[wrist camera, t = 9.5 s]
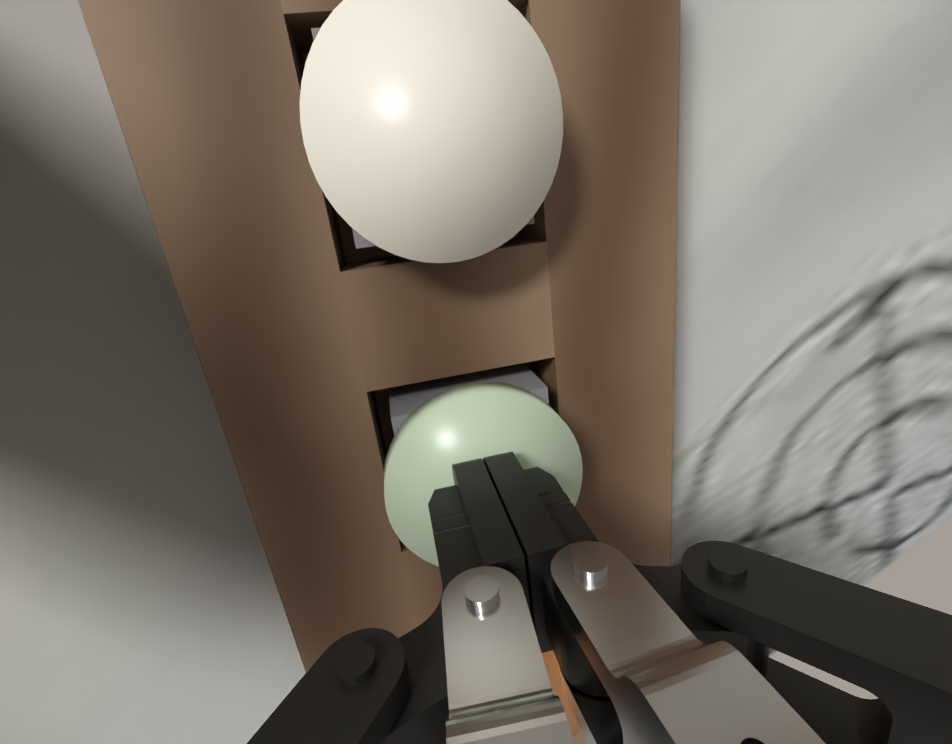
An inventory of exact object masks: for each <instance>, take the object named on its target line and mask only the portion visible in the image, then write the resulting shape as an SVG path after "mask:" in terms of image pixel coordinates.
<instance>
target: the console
mask: <svg viewBox="0 0 952 744" xmlns="http://www.w3.org/2000/svg"><path fill="white" fill-rule="evenodd" d="M342 1H343V0H78V2H79V5H80V8H81V11H82V14H83V17H84V20H85V23H86V26H87V29H88V32H89V35H90V38H91V41H92V44H93V46H94V49H95V52H96V55H97V58H98V61H99V64H100V67H101V70H102V73H103V76H104V79H105V82H106V85H107V88H108V91H109V94H110V97H111V100H112V102H113V105H114V108H115V111H116V114H117V117H118V120H119V123H120V126H121V129H122V132H123V135H124V138H125V141H126V144H127V147H128V150H129V153H130V155H131V158H132V161H133V164H134V167H135V170H136V173H137V176H138V179H139V182H140V185H141V188H142V191H143V194H144V197H145V200H146V203H147V206H148V209H149V211H150V214H151V217H152V220H153V223H154V226H155V229H156V232H157V235H158V238H159V241H160V244H161V247H162V250H163V253H164V256H165V259H166V262H167V265H168V267H169V270H170V273H171V276H172V279H173V282H174V285H175V288H176V291H177V294H178V297H179V300H180V303H181V306H182V309H183V312H184V315H185V318H186V321H187V323H188V326H189V329H190V332H191V335H192V338H193V341H194V344H195V347H196V350H197V353H198V356H199V359H200V362H201V365H202V368H203V371H204V374H205V377H206V379H207V382H208V385H209V388H210V391H211V394H212V397H213V400H214V403H215V406H216V409H217V412H218V415H219V418H220V421H221V424H222V427H223V430H224V432H225V435H226V438H227V441H228V444H229V447H230V450H231V453H232V456H233V459H234V462H235V465H236V468H237V471H238V474H239V477H240V480H241V483H242V486H243V488H244V491H245V494H246V497H247V500H248V503H249V506H250V509H251V512H252V515H253V518H254V521H255V524H256V527H257V530H258V533H259V536H260V539H261V542H262V544H263V547H264V550H265V553H266V556H267V559H268V562H269V565H270V568H271V571H272V574H273V577H274V580H275V583H276V586H277V589H278V592H279V595H280V598H281V600H282V603H283V606H284V609H285V612H286V615H287V618H288V621H289V624H290V627H291V630H292V633H293V636H294V639H295V642H296V645H297V648H298V651H299V654H300V656H301V659H302V662H303V665H304V668H305V671H306V673H307V672H308V670H309V669H310V668H311V667H312V666H313V664H314V663H315V662H316V661H317V660H318V658H319V657H320V656H321V655H322V654H323V653H324V652H325V650H326V649H327V648H328V647H329V646H331V645H332V644H333V643H334V642H335V641H337V640H338V639H340V638H341V637H343V636H345V635H347V634H349V633H351V632H354V631H357V630H360V629H365V628H380V629H384V630H387V631H389V632H391V633H393V634H394V635H395V636H396V637H397V638H399V637H401V636H403V635H404V634H406V633H408V632H410V631H411V630H413V629H415V628H416V627H418V626H419V625H421V624H422V623H423V622H424V621H426V620H427V619H428V618H429V617H430V616H431V615H432V613H433V612H434V611H435V609H436V608H437V606H438V604H439V602H440V599H441V596H442V590H443V588H442V580H441V574H440V569H439V566H436V565H434V564H431V563H429V562H427V561H425V560H423V559H422V558H420V557H418V556H417V555H416V554H414V553H413V552H412V551H410V550H409V549H408V548H407V547H406V546H405V545H404V544H403V543H402V542H401V540H400V539H399V537H398V536H397V535H396V533H395V532H394V530H393V528H392V526H391V524H390V522H389V518H388V515H387V512H386V507H385V500H384V467H385V460H386V456H387V453H388V450H389V446H390V444H391V442H392V440H393V438H394V432H393V427H392V422H391V416H390V400H389V388H391V387H396V386H402V385H407V384H413V383H418V382H423V381H429V380H434V379H440V378H445V377H450V376H456V375H461V374H466V373H472V372H477V371H483V370H488V369H493V368H499V367H504V366H510V365H515V364H520V363H524V364H525V365H526V366H527V367H528V368H529V369H530V370H531V371H532V372H533V373H534V374H535V375H536V376H537V377H538V378H539V379H540V380H541V381H542V382H543V383H544V384H545V385H546V386H547V387H548V399H549V405H550V407H551V408H552V409H553V410H554V411H555V412H556V413H557V414H558V415H559V416H560V418H561V419H562V420H563V421H564V422H565V423H566V424H567V425H568V427H569V428H570V430H571V431H572V433H573V435H574V437H575V439H576V441H577V443H578V446H579V449H580V453H581V458H582V466H583V474H582V484H581V490H580V493H579V496H578V500H577V502H576V505H575V508H576V509H577V510H578V512H579V513H580V515H581V516H582V518H583V519H584V521H585V522H586V524H587V525H588V526H589V528H590V529H591V531H592V532H593V534H594V535H595V537H596V538H597V540H598V541H599V542H601V543H605V544H607V545H610V546H612V547H614V548H616V549H618V550H619V551H620V552H622V553H623V554H624V555H625V556H626V557H627V558H628V559H629V561H630V562H631V563H632V564H637V565H643V566H670V557H671V501H672V445H673V388H674V332H675V276H676V219H677V163H678V106H679V50H680V0H508V1H509V2H510V3H511V4H512V5H513V6H514V7H515V8H516V9H517V10H518V11H519V12H520V13H521V14H522V15H523V17H524V18H525V19H526V20H527V21H528V23H529V24H530V25H531V26H532V28H533V29H534V31H535V32H536V34H537V36H538V37H539V39H540V40H541V42H542V44H543V46H544V48H545V50H546V52H547V54H548V56H549V58H550V60H551V63H552V66H553V69H554V72H555V74H556V77H557V81H558V86H559V90H560V94H561V101H562V110H563V139H562V148H561V154H560V159H559V163H558V167H557V171H556V174H555V176H554V179H553V182H552V185H551V187H550V189H549V191H548V193H547V195H546V197H545V199H544V201H543V202H542V204H541V206H540V207H539V209H538V210H537V212H536V213H535V215H534V221H535V224H528V225H525V226H524V227H523V228H522V229H521V230H520V231H519V232H518V233H517V234H516V235H515V236H514V237H512V238H511V239H510V240H508V241H507V242H505V243H504V244H502V245H501V246H499V247H498V248H496V249H494V250H492V251H490V252H488V253H486V254H483V255H481V256H478V257H475V258H472V259H468V260H464V261H459V262H451V263H427V262H420V261H415V260H410V259H407V258H404V257H400V256H397V255H394V254H392V253H390V252H388V251H386V250H384V249H382V248H380V247H378V246H372V247H365V248H358V249H356V246H355V241H354V236H353V231H352V227H351V226H350V225H349V224H348V223H347V222H346V221H345V220H344V219H343V218H342V217H341V216H340V215H339V214H338V213H337V211H336V210H335V209H334V207H333V206H332V205H331V203H330V202H329V200H328V199H327V198H326V196H325V194H324V193H323V191H322V189H321V187H320V185H319V184H318V182H317V180H316V178H315V175H314V173H313V171H312V168H311V166H310V163H309V160H308V157H307V153H306V150H305V146H304V143H303V137H302V131H301V124H300V91H301V81H302V77H303V72H304V67H305V63H306V60H307V57H308V54H309V52H310V49H311V46H312V43H313V42H314V41H313V36H312V31H311V28H321V26H322V25H323V24H324V22H325V21H326V19H327V18H328V17H329V15H330V14H331V13H332V11H333V10H334V9H335V8H336V7H337V6H338V5H339V4H340V3H341V2H342ZM573 739H574V742H575V744H588V743H587V741H586V739H585V737H584V735H583V733H582V731H581V729H580V730H579V732H578V733H577V734H576V735H575V736H574V737H573Z"/></svg>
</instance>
